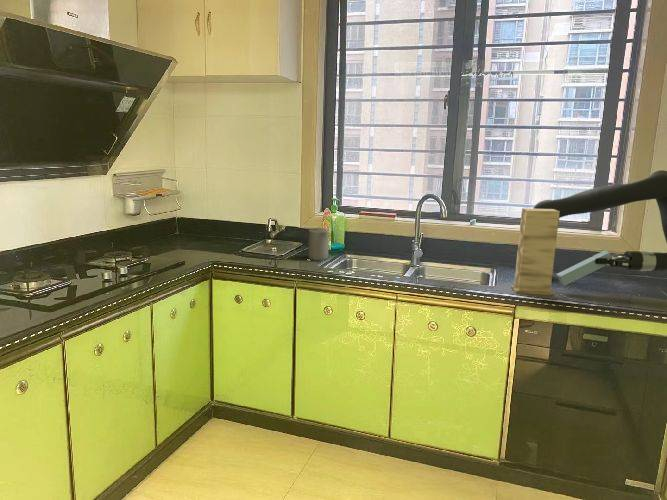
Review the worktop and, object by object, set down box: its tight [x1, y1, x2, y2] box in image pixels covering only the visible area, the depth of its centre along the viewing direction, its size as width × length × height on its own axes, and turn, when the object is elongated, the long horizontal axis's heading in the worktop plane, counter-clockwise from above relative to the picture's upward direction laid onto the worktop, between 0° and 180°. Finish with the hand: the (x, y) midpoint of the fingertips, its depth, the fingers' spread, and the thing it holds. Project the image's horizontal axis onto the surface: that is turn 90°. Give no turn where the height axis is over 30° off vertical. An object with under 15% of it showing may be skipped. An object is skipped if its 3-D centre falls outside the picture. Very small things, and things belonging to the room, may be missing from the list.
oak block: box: [510, 207, 560, 296], centre depth 202 cm, size 8×14×32 cm, turn 87°
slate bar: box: [556, 250, 612, 286], centre depth 202 cm, size 4×20×4 cm
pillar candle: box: [307, 227, 330, 261], centre depth 251 cm, size 10×10×15 cm
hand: (593, 259), depth 201 cm, fingers closed on slate bar, 4 cm apart
